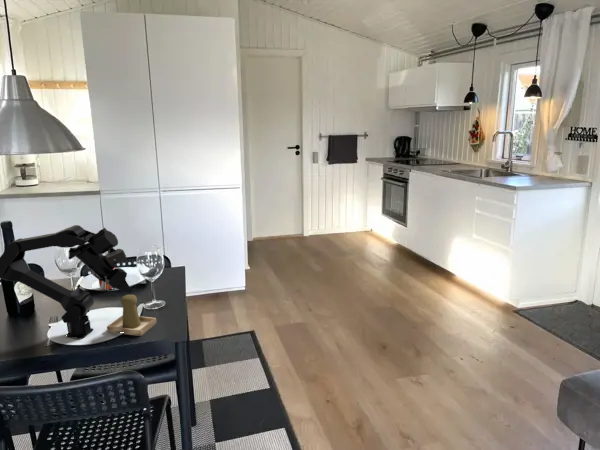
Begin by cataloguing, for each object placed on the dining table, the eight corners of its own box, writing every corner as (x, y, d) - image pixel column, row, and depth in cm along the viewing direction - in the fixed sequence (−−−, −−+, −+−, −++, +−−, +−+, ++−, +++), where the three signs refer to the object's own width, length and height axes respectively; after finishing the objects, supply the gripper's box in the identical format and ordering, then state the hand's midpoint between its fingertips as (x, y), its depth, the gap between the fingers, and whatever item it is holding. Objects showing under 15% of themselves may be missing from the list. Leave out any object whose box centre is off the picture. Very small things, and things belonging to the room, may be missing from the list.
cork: (122, 322, 159) (119, 293, 156) (140, 319, 161) (137, 291, 158) (122, 330, 153) (118, 300, 150) (141, 327, 155) (138, 298, 153)
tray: (107, 331, 154) (106, 326, 154) (124, 319, 163) (123, 314, 163) (141, 336, 151) (140, 330, 151) (156, 323, 160) (156, 317, 160)
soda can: (100, 286, 193) (97, 259, 190) (118, 284, 195) (115, 257, 192) (98, 292, 187) (95, 265, 184) (117, 290, 189) (114, 263, 186)
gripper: (121, 245, 143) (153, 276, 151) (102, 237, 157) (132, 267, 165) (94, 271, 139) (129, 302, 147) (77, 261, 153) (109, 290, 161)
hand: (125, 289), depth 155 cm, fingers open, 9 cm apart
